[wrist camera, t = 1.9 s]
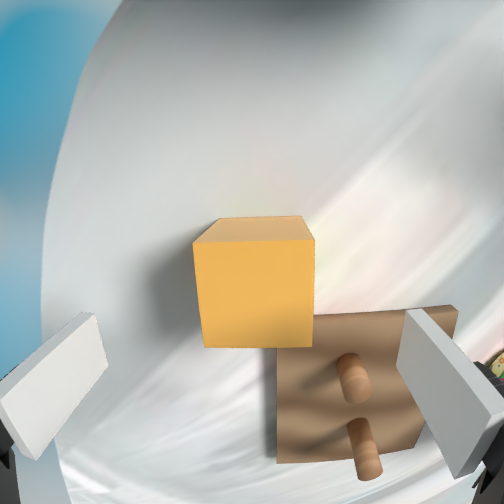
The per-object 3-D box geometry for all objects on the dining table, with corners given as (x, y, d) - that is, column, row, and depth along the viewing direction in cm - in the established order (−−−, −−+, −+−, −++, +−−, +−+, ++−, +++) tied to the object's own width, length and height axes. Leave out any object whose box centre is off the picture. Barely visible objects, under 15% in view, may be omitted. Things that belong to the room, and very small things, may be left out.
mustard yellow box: (219, 218, 23) (192, 242, 15) (301, 215, 23) (314, 239, 15) (225, 293, 25) (204, 347, 17) (301, 292, 24) (311, 346, 16)
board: (276, 315, 25) (275, 376, 17) (450, 304, 24) (497, 348, 16) (276, 453, 29) (275, 510, 22) (410, 439, 28) (429, 488, 20)
